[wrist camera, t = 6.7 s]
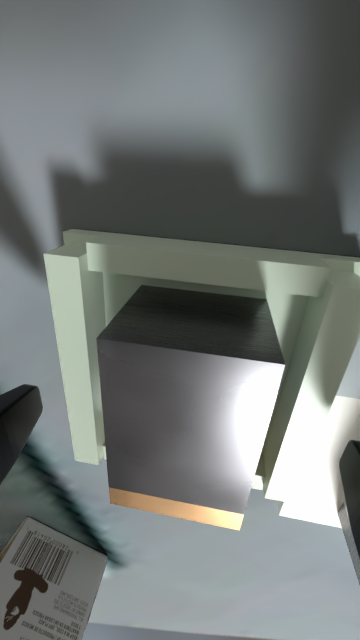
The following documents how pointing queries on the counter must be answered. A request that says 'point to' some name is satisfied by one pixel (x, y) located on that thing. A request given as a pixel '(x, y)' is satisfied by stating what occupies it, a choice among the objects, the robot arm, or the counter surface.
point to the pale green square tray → (222, 278)
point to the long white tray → (329, 455)
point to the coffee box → (47, 584)
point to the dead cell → (349, 537)
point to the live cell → (187, 401)
